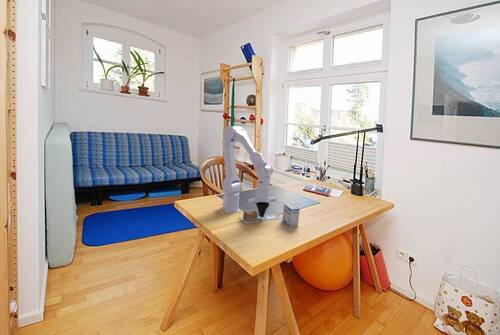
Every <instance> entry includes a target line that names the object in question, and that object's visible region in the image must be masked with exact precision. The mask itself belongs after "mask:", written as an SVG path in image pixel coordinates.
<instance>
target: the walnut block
mask: <svg viewBox="0 0 500 335" xmlns="http://www.w3.org/2000/svg"><path fill="white" fill-rule="evenodd" d="M257 216H259V212H257V211H255V210H253V209H248V210H243V215H242V217H243V219H244V220H245V221H247V222H254V221H257Z"/></svg>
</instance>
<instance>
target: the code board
mask: <svg viewBox="0 0 500 335" xmlns="http://www.w3.org/2000/svg"><path fill="white" fill-rule="evenodd" d="M237 219H238V220H239V221H240V222H242V223H243V225H249V224H256V223H263V222H270V221H272V222H273V221H279V220H282V219H283V217H280V215H277V214H276V213H270V214H269V213H268V214H264V217H260V216H259V215H258V216H257V221H254V222H247V221H245V220H244V219H243V216H241V217H237Z"/></svg>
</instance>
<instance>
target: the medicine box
mask: <svg viewBox="0 0 500 335" xmlns="http://www.w3.org/2000/svg"><path fill="white" fill-rule="evenodd" d="M299 219H300V209H299V207H297V206H295V205H294V204H292V203H284V204H283V212H282V219H281V221H282V222H283V223H285V224H286V225H287V226H289V227H290V228H291V227H298V226H299V222H300V221H299Z"/></svg>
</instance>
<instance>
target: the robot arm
mask: <svg viewBox="0 0 500 335" xmlns="http://www.w3.org/2000/svg"><path fill="white" fill-rule="evenodd" d="M222 132H223V133H222V134H223V138H222V152H223V160H224V168H225V178H224V180H223V181H222V182H223V186H222V191H223V196H222V206H221V207H220V209H222V210H223V211H224V212H225V213H226V214H235V213H241V212H242V210H240V209H239V206H240V204H239V203H240V193H241V192H242V190H243V184H242V182H241V179H240V177H239V176H238V174H237V164H236V157H235V146H234V145H235V144H236V143H237V142H239V143H240V144H241V145H242V147H243V148H244V149H245V151H246V152H247V153H248V155H249V158H248V160H250V162H251V164H252V165H253V167H254V168H255V169H256V171H255V173H256V177H257V189H256V190H257V192H256V197H252V198H248V202H247V204H249V205H252V204H255V205H256V207H257V210H258V216H260V217H264V215H266V211H267V209H268V208H269V207H270V202H275V203H276V202H277V197H275V196H270V183H271V175H273V172H274V171H273V167H272V165H271V164H268V162H267V161H266V160H265V159H264V157H263V154H262V152H261V153H260V152H259V151H257V150H256V149H255V148H254V145H253V144H252V142H251V140H250V138H249V137H248V133H247V131H246V130H245V128H244V127H243V126H241V125H235V126H234V125H232V126H231V125H228V126H226V127H225V128H224V130H223V131H222Z"/></svg>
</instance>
